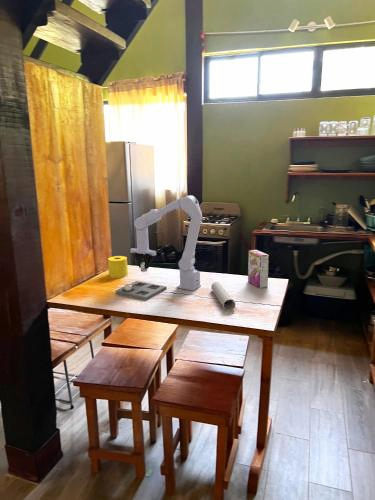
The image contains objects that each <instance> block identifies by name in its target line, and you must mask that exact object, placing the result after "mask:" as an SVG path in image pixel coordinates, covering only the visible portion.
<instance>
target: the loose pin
mask: <svg viewBox="0 0 375 500" xmlns="http://www.w3.org/2000/svg"><path fill="white" fill-rule="evenodd" d="M140 264H141V268H140V272H142V273H145V272H148V269H145V263H144V261H143V262H142V263H140Z"/></svg>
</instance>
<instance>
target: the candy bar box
mask: <svg viewBox="0 0 375 500" xmlns="http://www.w3.org/2000/svg"><path fill="white" fill-rule="evenodd" d="M247 254H248V259H247V260H248V262H247V263H248V267H247V268H248V269H247V282H248V283H250V284H252V285H253V286H256V287H257V288H258V289H264V288H268V286H269V285H268V283H269V262H270V261H269V260H270V259H269V258H270V254H267V253H265V252H262V251H260V250H258V249H251V250H250V249H249V250H248V253H247Z"/></svg>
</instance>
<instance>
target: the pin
mask: <svg viewBox="0 0 375 500" xmlns="http://www.w3.org/2000/svg"><path fill="white" fill-rule="evenodd" d="M124 286H125V292H129V293H130V292H132V285H131V283H128V284H124Z"/></svg>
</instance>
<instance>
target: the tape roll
mask: <svg viewBox="0 0 375 500" xmlns="http://www.w3.org/2000/svg"><path fill="white" fill-rule="evenodd" d="M107 265H108V276H109V277H110V278H112V277H113V278H114V279H118V278H119V279H121V278H126V277H127V276H128V275H129V274H128V271H129V270H128V257H127V256H123V255H115V256H111V257H108V258H107Z"/></svg>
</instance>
